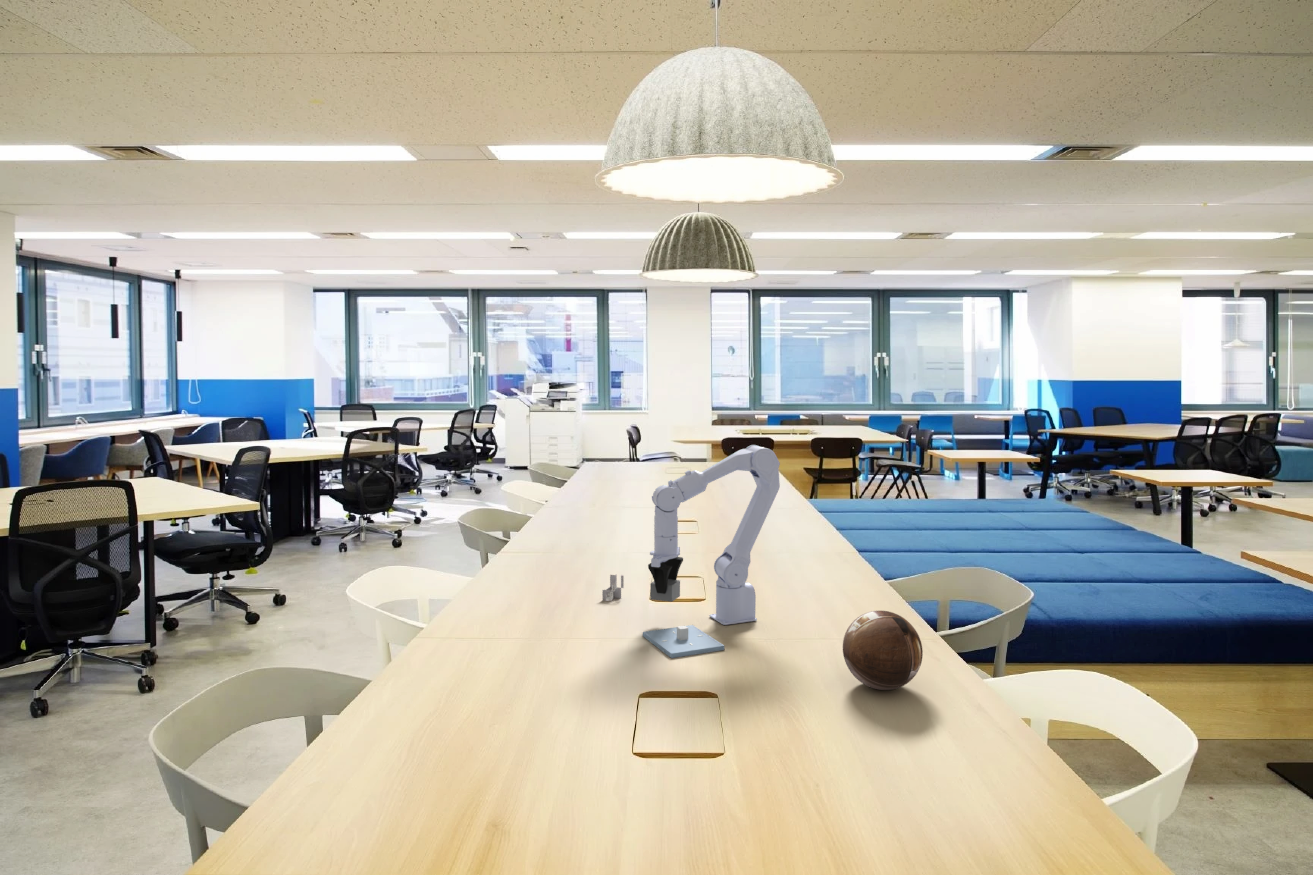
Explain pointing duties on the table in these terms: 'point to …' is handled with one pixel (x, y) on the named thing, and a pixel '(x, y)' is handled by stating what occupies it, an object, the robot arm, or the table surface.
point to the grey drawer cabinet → (671, 591)
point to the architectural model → (613, 589)
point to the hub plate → (682, 641)
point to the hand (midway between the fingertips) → (665, 589)
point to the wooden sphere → (882, 650)
